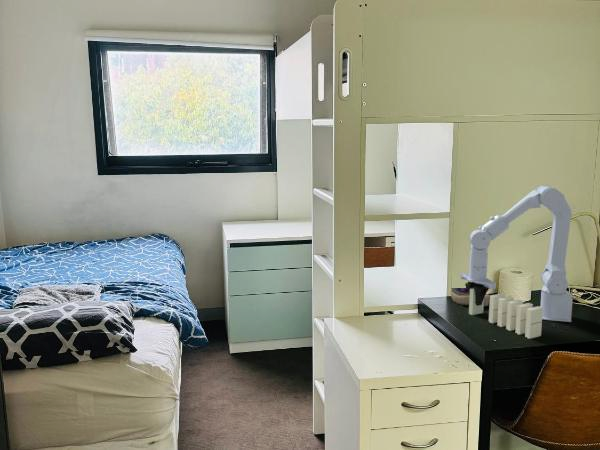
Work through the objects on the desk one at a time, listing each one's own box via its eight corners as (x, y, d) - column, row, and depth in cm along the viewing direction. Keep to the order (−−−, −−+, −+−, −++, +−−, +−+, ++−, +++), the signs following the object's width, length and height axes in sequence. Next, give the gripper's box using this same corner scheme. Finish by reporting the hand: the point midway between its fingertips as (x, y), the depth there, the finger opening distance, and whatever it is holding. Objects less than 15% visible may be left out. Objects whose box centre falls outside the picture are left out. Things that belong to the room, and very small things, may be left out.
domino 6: (525, 337, 167) (526, 308, 166) (536, 334, 169) (538, 306, 168) (529, 338, 166) (531, 310, 164) (540, 335, 168) (542, 307, 166)
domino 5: (515, 333, 170) (516, 305, 169) (526, 330, 173) (528, 302, 171) (519, 334, 169) (521, 306, 167) (531, 331, 171) (532, 304, 170)
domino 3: (497, 325, 177) (498, 298, 175) (508, 322, 179) (510, 296, 178) (501, 327, 176) (502, 300, 174) (512, 324, 178) (513, 297, 176)
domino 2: (488, 321, 180) (489, 295, 179) (499, 319, 182) (501, 293, 181) (492, 323, 179) (493, 296, 177) (503, 320, 181) (505, 294, 179)
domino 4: (506, 329, 174) (507, 301, 172) (517, 326, 176) (519, 299, 174) (510, 330, 172) (511, 303, 171) (521, 328, 175) (523, 300, 173)
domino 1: (468, 313, 188) (469, 288, 187) (479, 311, 190) (480, 286, 189) (472, 315, 187) (473, 289, 185) (483, 312, 189) (484, 287, 187)
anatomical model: (476, 294, 210) (476, 282, 209) (495, 308, 194) (495, 295, 193) (445, 296, 209) (445, 284, 208) (462, 309, 193) (462, 297, 192)
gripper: (454, 262, 190) (452, 299, 193) (485, 272, 177) (483, 312, 180) (469, 259, 193) (468, 296, 196) (501, 269, 180) (499, 308, 183)
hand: (476, 304), depth 188 cm, fingers closed on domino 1, 2 cm apart
